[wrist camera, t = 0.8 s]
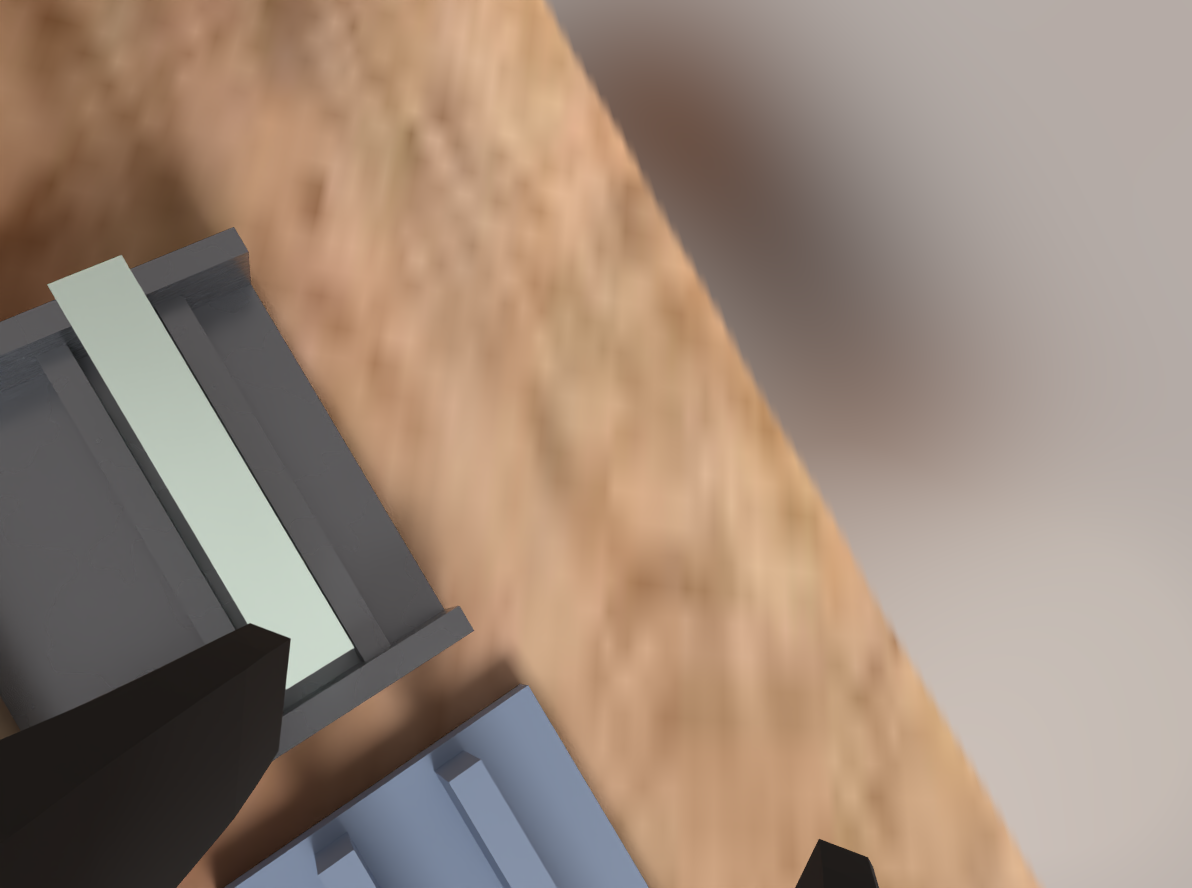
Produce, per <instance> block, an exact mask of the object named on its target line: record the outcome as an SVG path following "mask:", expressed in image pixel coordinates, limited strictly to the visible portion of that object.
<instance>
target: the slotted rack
mask: <svg viewBox="0 0 1192 888" xmlns="http://www.w3.org/2000/svg"><path fill="white" fill-rule="evenodd" d="M130 270H131V272H132V273H133V275H134V277H135V278H136V280H137V282H138V284H139V285H140V287H141V289H142V290H143V292H144V294H145V295H146V297H147V299H148V300H149V302H150V304H151V305H152V307H153V309H154V311H155V312H156V314H157V316H158V317H159V319H160V321H161V322H162V324H163V326H164V327H165V329H166V331H167V332H168V334H169V336H170V338H171V339H172V341H173V343H174V344H175V346H176V348H177V349H178V351H179V353H180V354H181V356H182V358H183V359H184V361H185V363H186V365H187V366H188V368H189V370H190V371H191V373H192V375H193V376H194V378H195V380H196V381H197V383H198V385H199V386H200V388H201V390H202V392H203V393H204V395H205V397H206V398H207V400H208V402H209V403H210V405H211V407H212V408H213V410H214V412H215V413H216V415H217V417H218V419H219V420H220V422H221V424H222V425H223V427H224V429H225V430H226V432H227V434H228V435H229V437H230V439H231V440H232V442H233V444H234V446H235V447H236V449H237V451H238V452H239V454H240V456H241V457H242V459H243V461H244V462H245V464H246V466H247V467H248V469H249V471H250V473H251V474H252V476H253V478H254V479H255V481H256V483H257V484H258V486H259V488H260V489H261V491H262V493H263V494H264V496H265V498H266V500H267V501H268V503H269V505H270V506H271V508H272V510H273V511H274V513H275V515H276V516H277V518H278V520H279V521H280V523H281V525H282V527H283V528H284V530H285V532H286V533H287V535H288V537H289V538H290V540H291V542H292V543H293V545H294V547H295V548H296V550H297V552H298V554H299V555H300V557H301V559H302V560H303V562H304V564H305V565H306V567H307V569H308V570H309V572H310V574H311V575H312V577H313V579H314V581H315V582H316V584H317V586H318V587H319V589H320V591H321V592H322V594H323V596H324V597H325V599H326V601H327V602H328V604H329V606H330V608H331V609H332V611H333V613H334V614H335V616H336V618H337V619H338V621H339V623H340V624H341V626H342V628H343V629H344V631H345V633H346V635H347V636H348V638H349V640H350V641H351V643H352V645H353V646H354V648H353V649H351V650H350V651H348V652H346V653H345V654H343V655H341V656H340V657H338V658H337V659H335V660H333V661H332V662H330V663H329V664H327V665H325V666H324V667H322V668H320V669H319V670H317V671H316V672H314V673H312V674H311V675H309V676H307V677H306V678H304V679H303V680H301V681H299V682H298V683H296V684H295V685H293V686H291V687H290V688H288V689H286V688H285V697H284V707H283V716H282V725H281V734H280V743H279V751H278V753H277V754H276V756H275V757H274V759H273V760H275V759H276V758H278V757H279V756H281V755H282V754H284V753H285V752H287V751H288V750H290V749H292V748H293V747H295V746H296V745H298V744H299V743H301V742H302V741H304V740H305V739H307V738H309V737H310V736H312V735H313V734H315V733H316V732H318V731H319V730H321V729H323V728H324V727H326V726H327V725H329V724H330V723H332V722H333V721H335V720H336V719H338V718H340V717H341V716H343V715H344V714H346V713H347V712H349V711H350V710H352V709H353V708H355V707H357V706H358V705H360V704H361V703H363V702H364V701H366V700H367V699H369V698H371V697H372V696H374V695H375V694H377V693H378V692H380V691H381V690H383V689H384V688H386V687H388V686H389V685H391V684H392V683H394V682H395V681H397V680H398V679H400V678H401V677H403V676H405V675H406V674H408V673H409V672H411V671H412V670H414V669H415V668H417V667H419V666H420V665H422V664H423V663H425V662H426V661H428V660H429V659H431V658H432V657H434V656H436V655H437V654H439V653H440V652H442V651H443V650H445V649H446V648H448V647H449V646H451V645H453V644H454V643H456V642H457V641H459V640H460V639H462V638H463V637H465V636H467V635H468V634H470V633H471V632H473V631H474V630H473V628H472V626H471V625H470V623H469V621H468V620H467V618H466V616H465V615H464V613H463V611H462V610H461V608H460V606H456V607H452V608H448V609H444V608H443V607H442V605H441V603H440V601H439V600H438V598H437V596H436V595H435V593H434V591H433V590H432V588H431V586H430V585H429V583H428V581H427V580H426V578H425V576H424V575H423V573H422V571H421V570H420V568H419V566H418V564H417V563H416V561H415V559H414V558H413V556H412V554H411V553H410V551H409V549H408V548H407V546H406V544H405V543H404V541H403V539H402V538H401V536H400V534H399V533H398V531H397V529H396V527H395V526H394V524H393V522H392V521H391V519H390V517H389V516H388V514H387V512H386V511H385V509H384V507H383V506H382V504H381V502H380V501H379V499H378V497H377V496H376V494H375V492H374V491H373V489H372V487H371V485H370V484H369V482H368V480H367V479H366V477H365V475H364V474H363V472H362V470H361V469H360V467H359V465H358V464H357V462H356V460H355V459H354V457H353V455H352V454H351V452H350V450H349V448H348V447H347V445H346V443H345V442H344V440H343V438H342V437H341V435H340V433H339V432H338V430H337V428H336V427H335V425H334V423H333V422H332V420H331V418H330V417H329V415H328V413H327V411H326V410H325V408H324V406H323V405H322V403H321V401H320V400H319V398H318V396H317V395H316V393H315V391H314V390H313V388H312V386H311V385H310V383H309V381H308V380H307V378H306V376H305V375H304V373H303V371H302V369H301V368H300V366H299V364H298V363H297V361H296V359H295V358H294V356H293V354H292V353H291V351H290V349H289V348H288V346H287V344H286V343H285V341H284V339H283V338H282V336H281V334H280V332H279V331H278V329H277V327H276V326H275V324H274V322H273V321H272V319H271V317H270V316H269V314H268V312H267V311H266V309H265V307H264V306H263V304H262V302H261V301H260V299H259V297H258V295H257V294H256V292H255V290H254V289H253V287H252V285H251V278H250V265H249V252H248V250H247V248H246V247H245V245H244V243H243V242H242V240H241V238H240V237H239V235H238V233H237V232H236V230H235V228H234V227H233V228H230V229H228V230H225V231H223V232H220V233H218V234H215V235H213V236H211V237H208V238H206V239H203V240H201V241H198V242H196V243H193V244H191V245H188V246H186V247H183V248H181V249H179V250H176V251H174V252H171V253H169V254H166V255H164V256H161V257H159V258H156V259H154V260H151V261H149V262H147V263H144V264H142V265H139V266H137V267H134V268H132V269H130ZM245 625H247V622H246V620H245V619H244V617H243V615H242V614H241V612H240V610H239V609H238V607H237V605H236V603H235V602H234V600H233V598H232V597H231V595H230V593H229V592H228V590H227V588H226V587H225V585H224V583H223V581H222V580H221V578H220V576H219V575H218V573H217V571H216V570H215V568H214V566H213V565H212V563H211V561H210V559H209V558H208V556H207V554H206V553H205V551H204V549H203V548H202V546H201V544H200V543H199V541H198V539H197V537H196V536H195V534H194V532H193V531H192V529H191V527H190V526H189V524H188V522H187V521H186V519H185V517H184V515H183V514H182V512H181V510H180V509H179V507H178V505H177V504H176V502H175V500H174V499H173V497H172V495H171V493H170V492H169V490H168V488H167V487H166V485H165V483H164V482H163V480H162V478H161V477H160V475H159V473H158V471H157V470H156V468H155V466H154V465H153V463H152V461H151V460H150V458H149V456H148V455H147V453H146V451H145V449H144V448H143V446H142V444H141V443H140V441H139V439H138V438H137V436H136V434H135V433H134V431H133V429H132V427H131V426H130V424H129V422H128V421H127V419H126V417H125V416H124V414H123V412H122V411H121V409H120V407H119V405H118V404H117V402H116V400H115V399H114V397H113V395H112V394H111V392H110V390H109V389H108V387H107V385H106V383H105V382H104V380H103V378H102V377H101V375H100V373H99V372H98V370H97V368H96V367H95V365H94V363H93V361H92V360H91V358H90V356H89V355H88V353H87V351H86V350H85V348H84V346H83V345H82V343H81V341H80V339H79V338H78V336H77V334H76V333H75V331H74V329H73V328H72V326H71V324H70V323H69V321H68V319H67V317H66V316H65V314H64V312H63V311H62V309H61V307H60V306H59V304H58V302H57V300H56V299H55V300H53V301H51V302H48V303H46V304H43V305H41V306H38V307H36V308H33V309H31V310H28V311H26V312H23V313H21V314H19V315H16V316H14V317H11V318H9V319H6V320H4V321H1V322H0V696H1V698H2V700H3V702H4V703H5V705H6V707H7V708H8V710H9V712H10V714H11V715H12V717H13V719H14V720H15V722H16V724H17V725H18V727H19V729H20V731H22V730H24V729H27V728H29V727H31V726H34V725H36V724H38V723H41V722H43V721H45V720H48V719H50V718H52V717H55V716H57V715H59V714H62V713H64V712H66V711H69V710H71V709H73V708H76V707H78V706H80V705H82V704H84V703H87V702H89V701H91V700H93V699H95V698H97V697H99V696H101V695H104V694H106V693H108V692H110V691H112V690H114V689H116V688H118V687H120V686H122V685H125V684H127V683H129V682H131V681H133V680H135V679H137V678H139V677H141V676H144V675H146V674H148V673H150V672H152V671H154V670H156V669H158V668H160V667H162V666H164V665H166V664H168V663H170V662H172V661H174V660H176V659H178V658H180V657H182V656H184V655H186V654H188V653H190V652H192V651H194V650H196V649H198V648H200V647H202V646H204V645H206V644H208V643H210V642H212V641H214V640H216V639H218V638H220V637H222V636H224V635H226V634H228V633H230V632H232V631H235V630H237V629H239V628H241V627H243V626H245Z"/></svg>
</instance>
